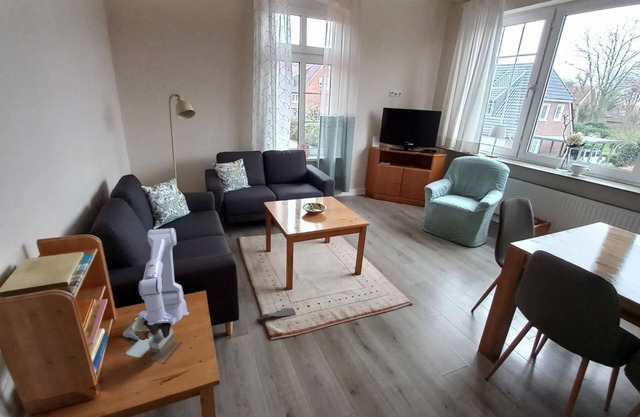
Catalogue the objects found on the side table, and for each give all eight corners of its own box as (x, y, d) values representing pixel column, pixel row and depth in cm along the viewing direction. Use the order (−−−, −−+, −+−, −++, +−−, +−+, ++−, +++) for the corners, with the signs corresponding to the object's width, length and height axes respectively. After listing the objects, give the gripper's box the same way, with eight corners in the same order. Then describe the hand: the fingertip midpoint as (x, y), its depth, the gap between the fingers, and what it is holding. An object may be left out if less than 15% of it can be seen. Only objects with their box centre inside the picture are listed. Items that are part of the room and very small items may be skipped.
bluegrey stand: (126, 357, 120) (125, 353, 119) (144, 338, 129) (144, 334, 128) (141, 360, 118) (140, 357, 118) (159, 341, 128) (158, 337, 127)
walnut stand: (149, 362, 118) (148, 358, 117) (166, 342, 127) (166, 339, 126) (165, 366, 116) (164, 362, 116) (181, 346, 126) (181, 342, 125)
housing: (164, 334, 123) (162, 325, 121) (174, 336, 123) (172, 327, 121) (150, 350, 116) (147, 341, 114) (160, 353, 116) (158, 343, 114)
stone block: (122, 343, 128) (141, 343, 126) (117, 333, 127) (137, 334, 125) (142, 324, 139) (161, 324, 137) (139, 315, 138) (157, 315, 136)
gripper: (129, 310, 111) (137, 338, 116) (164, 317, 108) (170, 346, 113) (144, 298, 117) (150, 325, 122) (177, 304, 114) (182, 332, 119)
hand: (161, 334), depth 118 cm, fingers closed on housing, 4 cm apart
